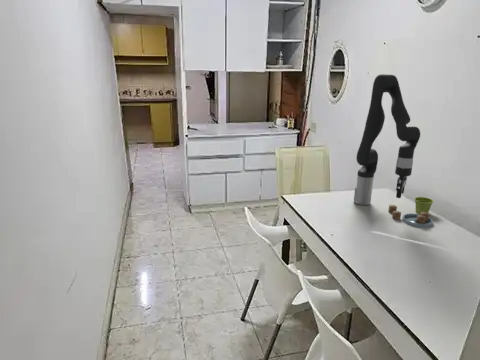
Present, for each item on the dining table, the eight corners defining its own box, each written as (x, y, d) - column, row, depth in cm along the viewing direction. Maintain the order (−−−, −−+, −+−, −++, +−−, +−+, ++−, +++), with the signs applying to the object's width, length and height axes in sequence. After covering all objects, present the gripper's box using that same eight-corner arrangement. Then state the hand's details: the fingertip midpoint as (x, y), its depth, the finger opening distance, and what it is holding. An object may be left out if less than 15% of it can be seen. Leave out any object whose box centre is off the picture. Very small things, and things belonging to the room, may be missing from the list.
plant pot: (434, 217, 188) (437, 203, 186) (416, 217, 188) (419, 202, 186) (425, 211, 197) (428, 196, 194) (409, 211, 197) (411, 196, 195)
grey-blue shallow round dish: (399, 224, 179) (400, 220, 179) (404, 215, 191) (405, 211, 190) (430, 231, 172) (431, 226, 171) (433, 221, 183) (434, 217, 182)
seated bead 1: (415, 225, 177) (416, 216, 176) (416, 222, 180) (417, 214, 179) (423, 226, 175) (425, 218, 173) (424, 224, 178) (426, 216, 177)
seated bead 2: (418, 221, 181) (420, 213, 180) (420, 219, 184) (421, 211, 183) (427, 223, 179) (428, 215, 177) (428, 220, 182) (429, 212, 181)
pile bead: (387, 214, 193) (388, 206, 192) (389, 211, 196) (390, 204, 195) (395, 215, 191) (396, 208, 190) (396, 213, 194) (397, 205, 193)
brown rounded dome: (391, 220, 185) (392, 212, 184) (392, 217, 188) (393, 210, 187) (399, 222, 183) (400, 214, 181) (400, 219, 186) (401, 211, 185)
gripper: (398, 161, 184) (394, 190, 189) (393, 167, 173) (389, 198, 178) (414, 163, 180) (409, 192, 185) (410, 170, 169) (405, 200, 174)
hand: (399, 195), depth 181 cm, fingers open, 8 cm apart
